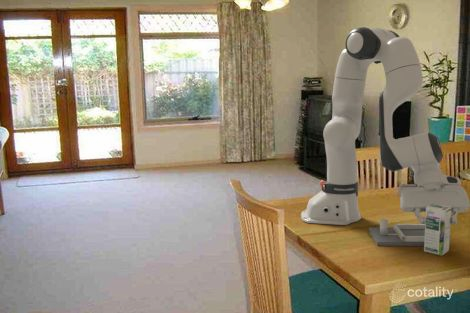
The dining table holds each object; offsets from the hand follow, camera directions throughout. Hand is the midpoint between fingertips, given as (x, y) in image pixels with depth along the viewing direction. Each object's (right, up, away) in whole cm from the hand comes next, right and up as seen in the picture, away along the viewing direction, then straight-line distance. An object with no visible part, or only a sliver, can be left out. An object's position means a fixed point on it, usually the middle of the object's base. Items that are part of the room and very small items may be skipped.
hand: (438, 223), depth 142 cm
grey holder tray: (-5, -7, +14) cm, 17 cm away
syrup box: (0, -9, +2) cm, 9 cm away
